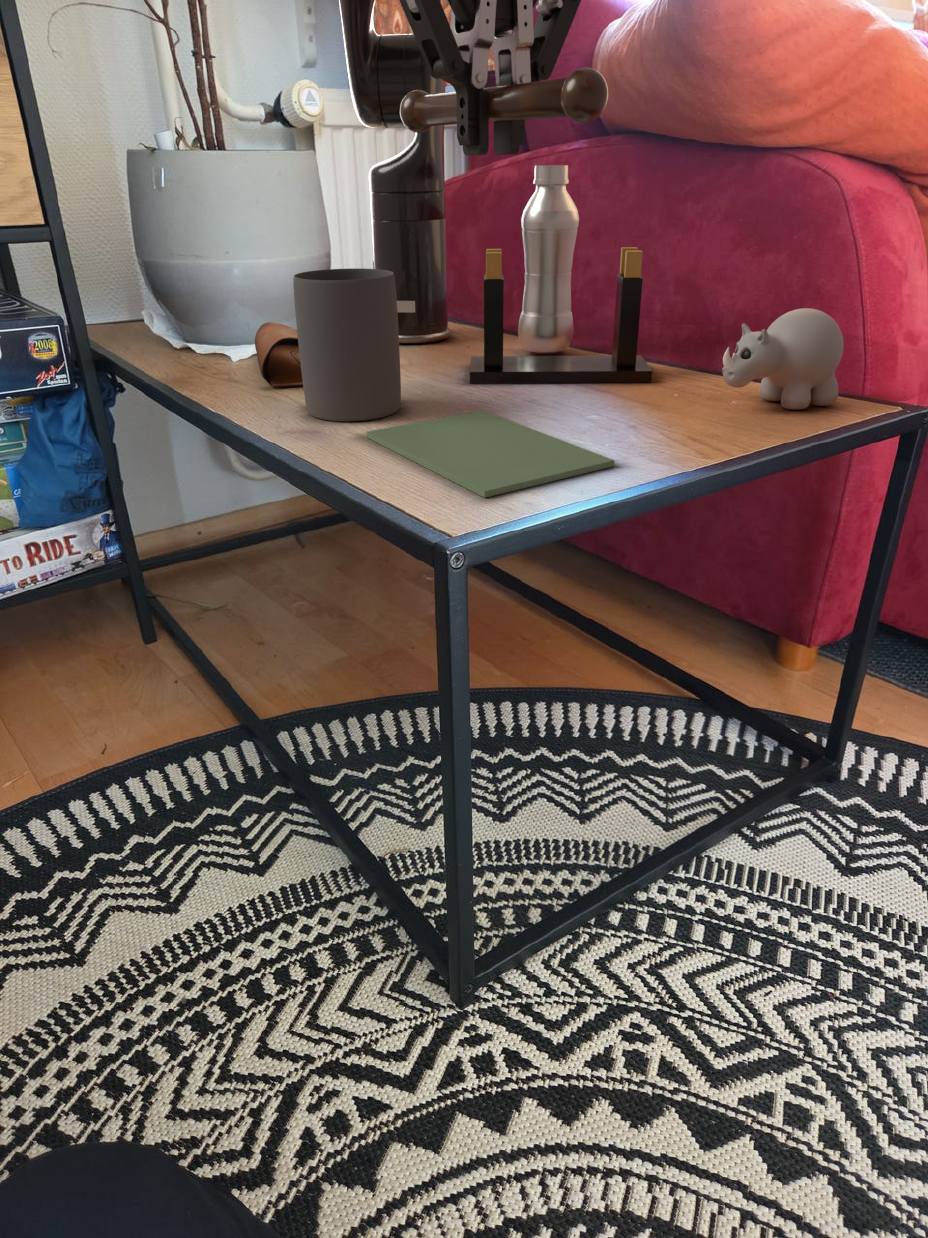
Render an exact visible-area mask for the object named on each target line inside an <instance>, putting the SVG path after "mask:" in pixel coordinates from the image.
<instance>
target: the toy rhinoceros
mask: <svg viewBox="0 0 928 1238" xmlns="http://www.w3.org/2000/svg"><path fill="white" fill-rule="evenodd" d="M844 343H845V342H844V336H843V333H842V330H841V328H840V326H839V324H838V323H837V321H836V320H835V319H834V318H832V316H831V315H829V314H827V313H826V312H824V311H822V310H819V309H815V308H808V307H806V308H805V307H803V308H797V309H793V310H790V311H788V312H785V313H784V314H781V315H780V316H778V317H777V318H776V319H775V320H774V321H773V322H772V323H771V324H770V325H769V326H768V327H767V329H765V328H763V329H761V330H759V331H757V330H756V331H752V329H750V327H749V326H748V324H746V323H742V324H741V338H740V339H739V340H738V341H737V342H736V344H735V349H734V352H733V353H732V357H731V353H730V346H727V348H726V350H725V352H724V353H723V357H722V364H723V367H722V368H721V373H722V377H723V380H724V382H725V384H726V385H728V386H730V387H732V388H737V389H741V388H744V387H746V386H747V385H749V384H750V383H751V382H752V381H753V380H759V379H761V382H760V384H759V389H758V395H759V397H760V398H761V399H763V400H765V401H771V402H779V401H780V404H781V405H780V406H781V407H782V408H784V409H787V410H794V411H795V410H796V411H797V410H805V409H807V408H809V406H810V405H812V406H824V407H825V406H831V405H833V404H835V403H836V402H837V401H838V398H839V384H838V379H837V377H836V370H837V368H838V367H839V365H840V363H841V361H842V358H843V354H844V348H845V347H844V345H845V344H844Z"/></svg>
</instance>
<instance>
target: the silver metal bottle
mask: <svg viewBox="0 0 928 1238" xmlns="http://www.w3.org/2000/svg"><path fill="white" fill-rule="evenodd" d="M533 176H534V179H533V185H535V191H534V192H533V194H532V195H531V196H530V198H529V200H528V201H527V203H526V205H525V207H524V209H523V211H522V215H521V218H520V222H521V224H520V225H521V226H520V227H521V235H522V245H523V253H524V254H523V255H524V256H523V257H524V258H523V259H524V271H525V272H524V285H523V286H524V287H523V294H522V295H523V296H522V305H521V307H522V308H521V310H522V311H521V312H520V316H519V319H518V327H517V337H518V342H519V344H520V346H521V348H522V349H523V350H524V351H527V352H532V353H536V354H540V355H550V354H553V353H559V352H562V351H563V352H564V351H566V350H567V349H568V348H569V347H570V345H571V344H572V341H573V337H574V336H573V335H574V332H575V331H574V330H575V329H574V328H575V327H574V317H573V312H572V268H573V261H574V252H575V247H576V243H577V242H576V241H577V237H578V231H579V230H578V228H579V226H580V225H579V223H580V215H579V210H578V208H577V205H576V203H575V202H574V200H573V198H572V197H571V195H570V194H569V192H568V191H567V185H568V184H569V183H570V179H569V165H568V164H567V165H566V164H551V165H549V164H548V165H547V164H543V165H541V164H540V165H534V175H533Z"/></svg>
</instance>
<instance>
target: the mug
mask: <svg viewBox="0 0 928 1238" xmlns="http://www.w3.org/2000/svg"><path fill="white" fill-rule="evenodd" d="M292 279H293V280H292V283H293V300H294V310H295V322H296V330H297V334H298V344H299V353H300V363H301V372H302V380H303V386H302V387H303V395H304V402H305V406H306V411H307V413H308V415H310V416H311V417H314V418H317V419H319V420H325V421H331V422H332V421H333V422H361V421H370V420H377V419H381V418H386V417H388V416H391V415H393V414H396V413H397V412H398V411H399V410H400V407H401V402H402V381H401V380H402V379H401V377H402V376H401V354H400V353H401V352H400V343H399V331H398V313H397V297H396V285H395V277H394V273H393V272H391V271H387V270H380V269H373V268H331V269H317V270H309V271H303V272H299V273H296V274H294V275H293V278H292Z"/></svg>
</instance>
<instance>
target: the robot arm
mask: <svg viewBox="0 0 928 1238" xmlns="http://www.w3.org/2000/svg"><path fill="white" fill-rule="evenodd" d="M441 1H442V0H399V3H400V5H401V8H402V10H403V13H404V14H405V17H406V20H407V22H408V25H409V27H410V30H411V31H412V33H394V34H377V32H376V29H375V25H374V11H375V10H374V8H375V4H376V0H338V3H339V11H340V19H341V28H342V35H343V45H344V53H345V60H346V69H347V75H348V82H349V90H350V95H351V96H350V97H351V100H352V104H353V108H354V111H355V115H356V117H357V119H358V120H359V122H360V123H361V124H362V125H363V126H364V127H367V128H370V129H371V128H372V129H408V128H407V127H406V126H405V125H404V123H403V122H402V119H401V116H400V106H401V103H402V100H403V98H404V97H405V96H406V95H407V94H408V93H409V92H411V91H414V90H421V91H425V92H426V93H428V94H429V95H432V94H440V93H446V83H447V84H450V85H451V86H452V88H453V89H454V92H456V101H457V124H456V139H457V142H458V145H459V146H462V152H463V154H464V155H465V156H486V155H488V152H489V149H490V148H489V147H490V144H489V143H490V142H489V141H490V139H489V137H490V135H489V134H490V133H489V132H490V130H489V129H490V127H489V126H490V125H489V124H490V122H489V107H488V101H489V91H483V88H485V87H486V85H487V83H488V75H489V58H490V51H491V52H492V53H493V56H494V57H493V58H494V72H495V73H494V74H495V85H496V86H495V87H497V86H505V85H513V84H521V83H529V82H537V81H546V80H550V78H551V76H552V74H553V71H554V69H555V66H556V64H557V61H558V59H559V56H560V54H561V51H562V49H563V47H564V44H565V41H566V39H567V38H568V37H567V36H568V34H569V32H570V30H571V26H572V25H573V22H574V19H575V17H576V16H577V15H576V14H577V12H578V9H579V7H580V5H581V2H582V0H446V2H447V4H448V6H449V8H450V23H449V19H448V17H447V14H446V12H445V10H444V8H443V7H444V6H443V5H442V2H441ZM537 1H538V3H537ZM534 8H535V11H536V13H538V16H537V18H536V21H535V23H534ZM510 31H512V32H511V34H509V32H510ZM525 137H526V119H524V120H509V121H495V122H493V152H494V154H495V155H496V156H516V155H518V154H519V152H520V148H521V146H523V144H524V140H525ZM445 174H446V173H445V125H438V126H432V127H431V128H430V129H429V130H427V131H425V132H422V133H416V132H415V134H414V138H413V140H412V142H411V143H410V144H409V145H408V146H407V147H406V148H404V150H401V152H399V153H398V154H396V155H395V156H392V157H390V158H388V159H386V160H383V161H380V162H377V163H376V164H374V165H373V166H371V167H370V169H369V172H368V187H369V203H370V217H371V218H370V220H371V234H372V235H371V236H372V248H373V249H372V251H373V253H372V254H373V259H372V269H380V270H387V271H391V272H393V273H394V277H395V285H396V297H397V313H398V331H399V344H425V343H434V342H439V341H443V340H445V339H448V338H449V337H450V329H449V328H450V327H449V316H448V315H449V314H448V308H449V307H448V302H449V301H448V262H447V261H448V260H447V221H446V220H447V219H446V191H445V190H446V181H445Z"/></svg>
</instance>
